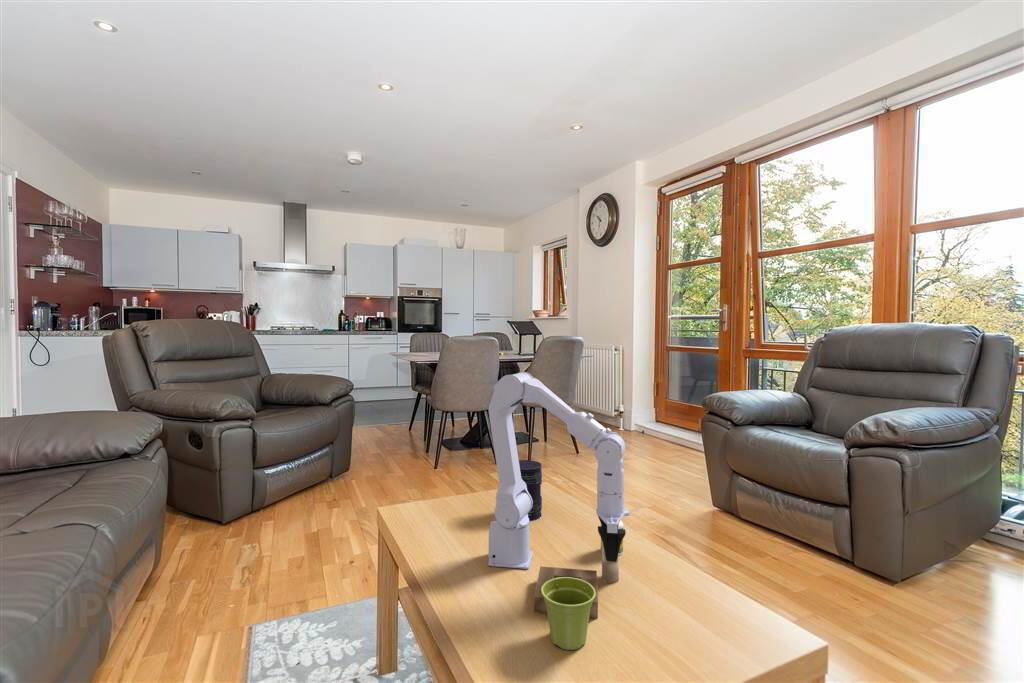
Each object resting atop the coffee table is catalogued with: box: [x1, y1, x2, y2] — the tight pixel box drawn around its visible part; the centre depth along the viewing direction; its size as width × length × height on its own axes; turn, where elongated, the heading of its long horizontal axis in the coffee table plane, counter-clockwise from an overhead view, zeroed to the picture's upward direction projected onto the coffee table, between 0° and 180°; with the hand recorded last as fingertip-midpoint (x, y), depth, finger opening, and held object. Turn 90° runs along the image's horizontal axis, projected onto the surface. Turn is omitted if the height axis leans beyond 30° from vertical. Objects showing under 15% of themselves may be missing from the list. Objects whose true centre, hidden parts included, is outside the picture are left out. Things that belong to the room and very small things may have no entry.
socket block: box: [533, 565, 599, 619], centre depth 96 cm, size 12×12×3 cm
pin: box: [601, 542, 620, 584], centre depth 103 cm, size 4×4×8 cm
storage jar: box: [519, 459, 543, 522], centre depth 139 cm, size 10×10×15 cm
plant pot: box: [541, 577, 596, 651], centre depth 83 cm, size 9×9×9 cm
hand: (610, 552), depth 103 cm, fingers open, 7 cm apart
